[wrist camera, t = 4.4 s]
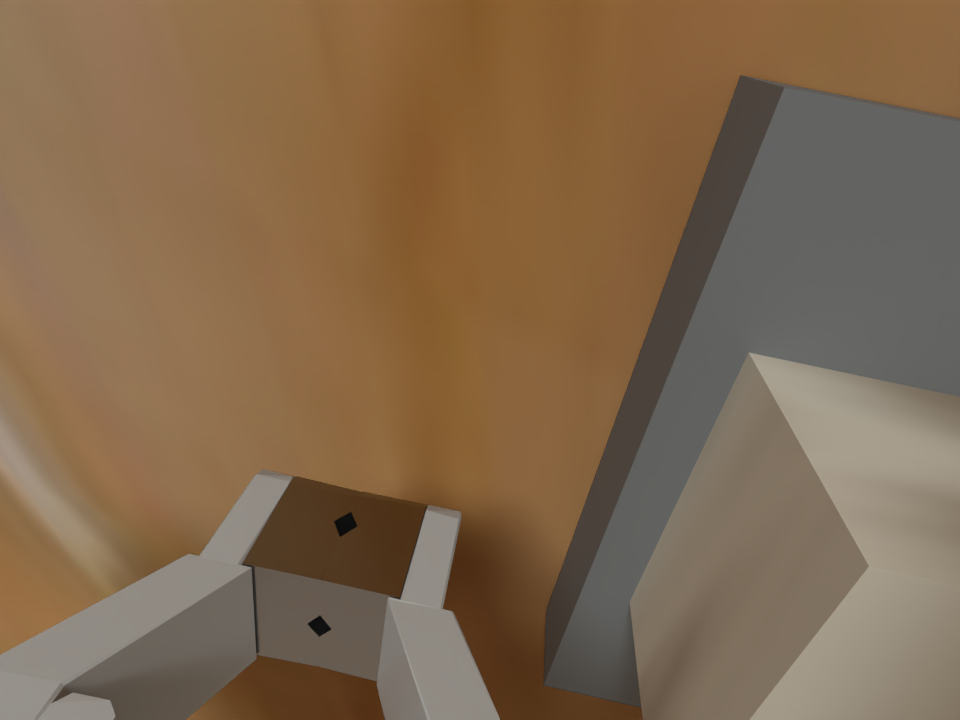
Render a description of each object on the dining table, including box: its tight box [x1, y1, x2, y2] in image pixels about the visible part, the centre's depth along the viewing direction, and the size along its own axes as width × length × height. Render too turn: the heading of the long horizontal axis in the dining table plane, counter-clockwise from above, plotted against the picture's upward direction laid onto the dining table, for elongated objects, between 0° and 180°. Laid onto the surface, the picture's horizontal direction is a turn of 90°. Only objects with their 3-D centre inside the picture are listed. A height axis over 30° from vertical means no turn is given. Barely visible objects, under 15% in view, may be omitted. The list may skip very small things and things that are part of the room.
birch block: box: [630, 353, 960, 720], centre depth 8 cm, size 6×6×4 cm
